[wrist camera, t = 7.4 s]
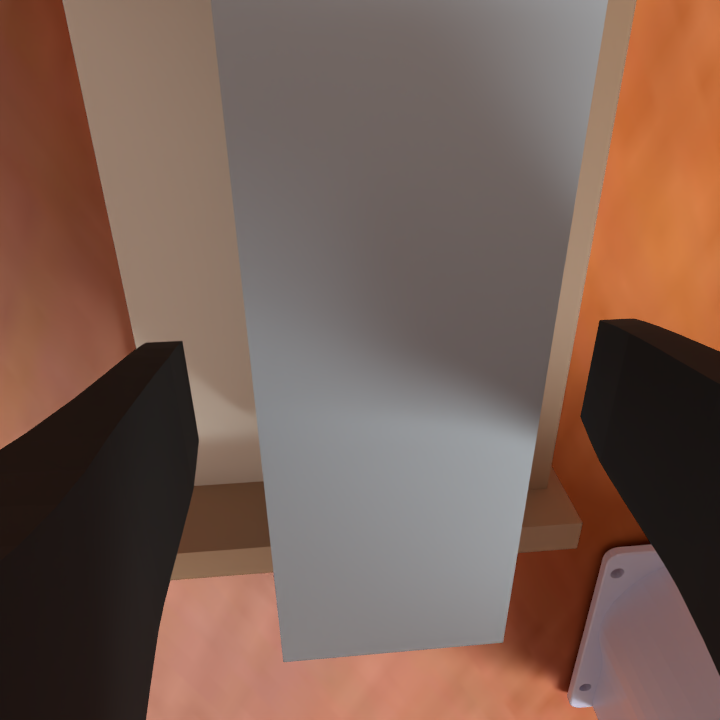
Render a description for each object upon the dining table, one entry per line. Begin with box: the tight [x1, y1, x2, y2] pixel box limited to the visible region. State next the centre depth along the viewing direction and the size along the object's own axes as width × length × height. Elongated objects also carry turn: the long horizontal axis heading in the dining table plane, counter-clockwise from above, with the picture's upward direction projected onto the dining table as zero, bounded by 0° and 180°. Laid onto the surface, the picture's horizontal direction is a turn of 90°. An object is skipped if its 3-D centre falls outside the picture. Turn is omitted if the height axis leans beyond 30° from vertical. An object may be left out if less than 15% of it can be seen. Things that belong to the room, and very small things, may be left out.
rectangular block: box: [211, 0, 608, 662], centre depth 12 cm, size 12×4×6 cm, turn 0°
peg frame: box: [62, 0, 636, 580], centre depth 15 cm, size 18×12×4 cm, turn 0°
